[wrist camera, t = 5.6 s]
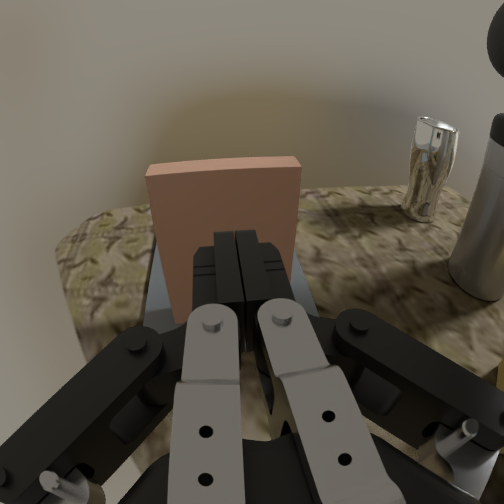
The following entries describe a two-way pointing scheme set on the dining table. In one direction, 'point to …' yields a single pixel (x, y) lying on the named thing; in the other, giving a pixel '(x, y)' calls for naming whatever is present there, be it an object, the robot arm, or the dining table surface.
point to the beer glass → (429, 167)
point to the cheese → (500, 384)
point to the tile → (219, 212)
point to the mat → (163, 321)
